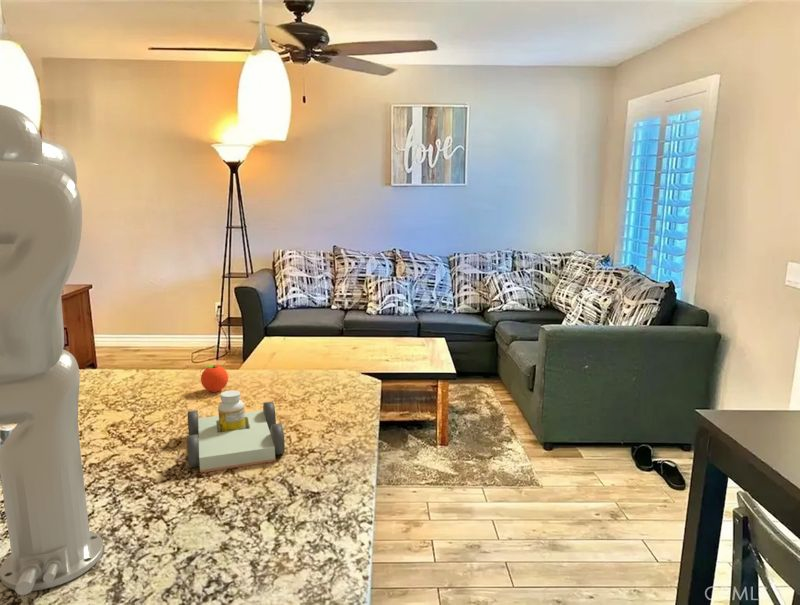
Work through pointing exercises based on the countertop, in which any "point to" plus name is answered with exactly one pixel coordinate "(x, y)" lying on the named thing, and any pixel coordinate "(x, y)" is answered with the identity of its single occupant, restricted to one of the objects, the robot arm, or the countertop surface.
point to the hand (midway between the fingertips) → (30, 331)
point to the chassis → (234, 441)
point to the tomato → (214, 378)
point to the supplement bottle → (231, 412)
